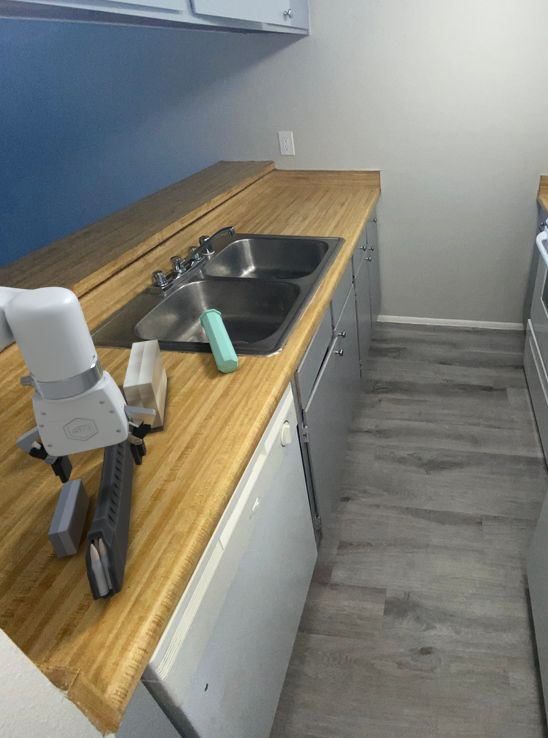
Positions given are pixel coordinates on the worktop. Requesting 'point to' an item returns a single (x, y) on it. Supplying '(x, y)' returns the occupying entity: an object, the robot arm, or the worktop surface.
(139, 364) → the book rack
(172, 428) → the worktop surface
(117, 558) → the magazine
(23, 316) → the robot arm
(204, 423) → the worktop surface
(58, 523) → the blue-grey rectangular block
